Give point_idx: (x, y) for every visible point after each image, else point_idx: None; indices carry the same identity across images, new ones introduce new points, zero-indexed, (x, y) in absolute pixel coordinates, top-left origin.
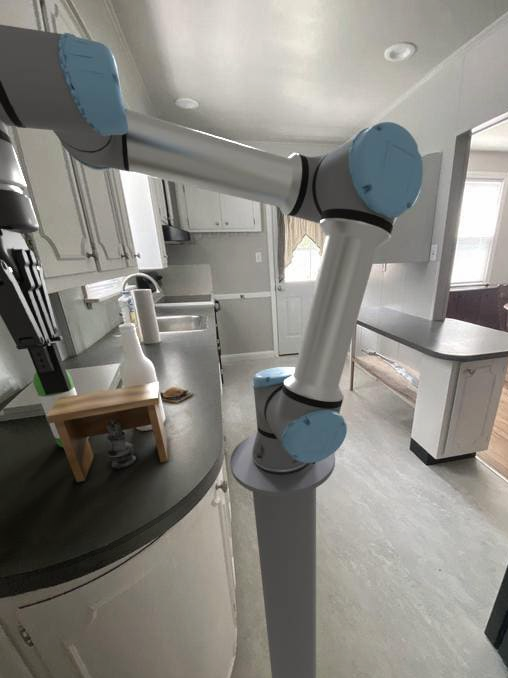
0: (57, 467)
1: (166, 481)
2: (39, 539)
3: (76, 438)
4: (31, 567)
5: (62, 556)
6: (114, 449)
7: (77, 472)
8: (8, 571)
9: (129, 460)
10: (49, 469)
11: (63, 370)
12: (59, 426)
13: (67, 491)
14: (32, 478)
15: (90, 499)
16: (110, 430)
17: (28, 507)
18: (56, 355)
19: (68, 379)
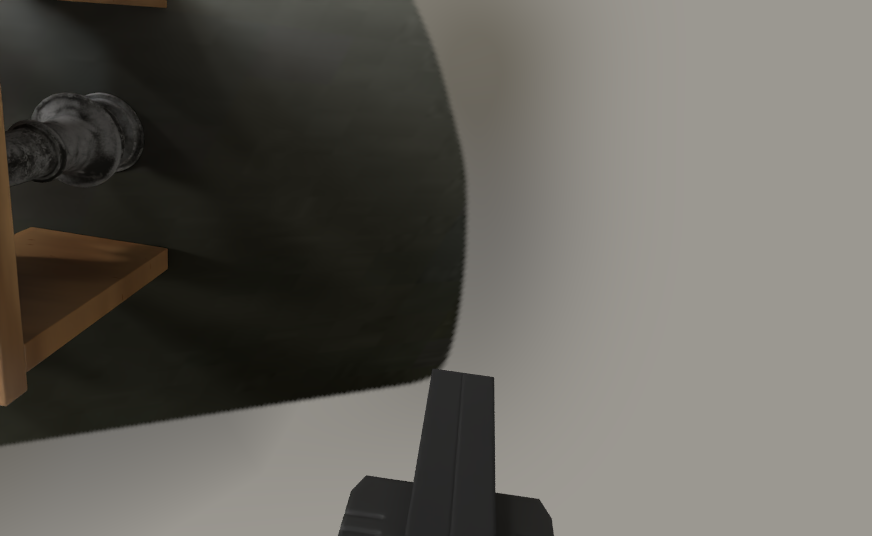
0: None
1: (289, 4)
2: (368, 334)
3: (37, 287)
4: (452, 339)
5: (455, 284)
6: (86, 161)
7: (150, 270)
8: None
9: (115, 114)
10: None
11: (462, 443)
12: (39, 351)
13: (201, 290)
14: (93, 378)
15: (269, 232)
16: (31, 172)
17: (229, 371)
18: (492, 529)
19: (435, 397)
